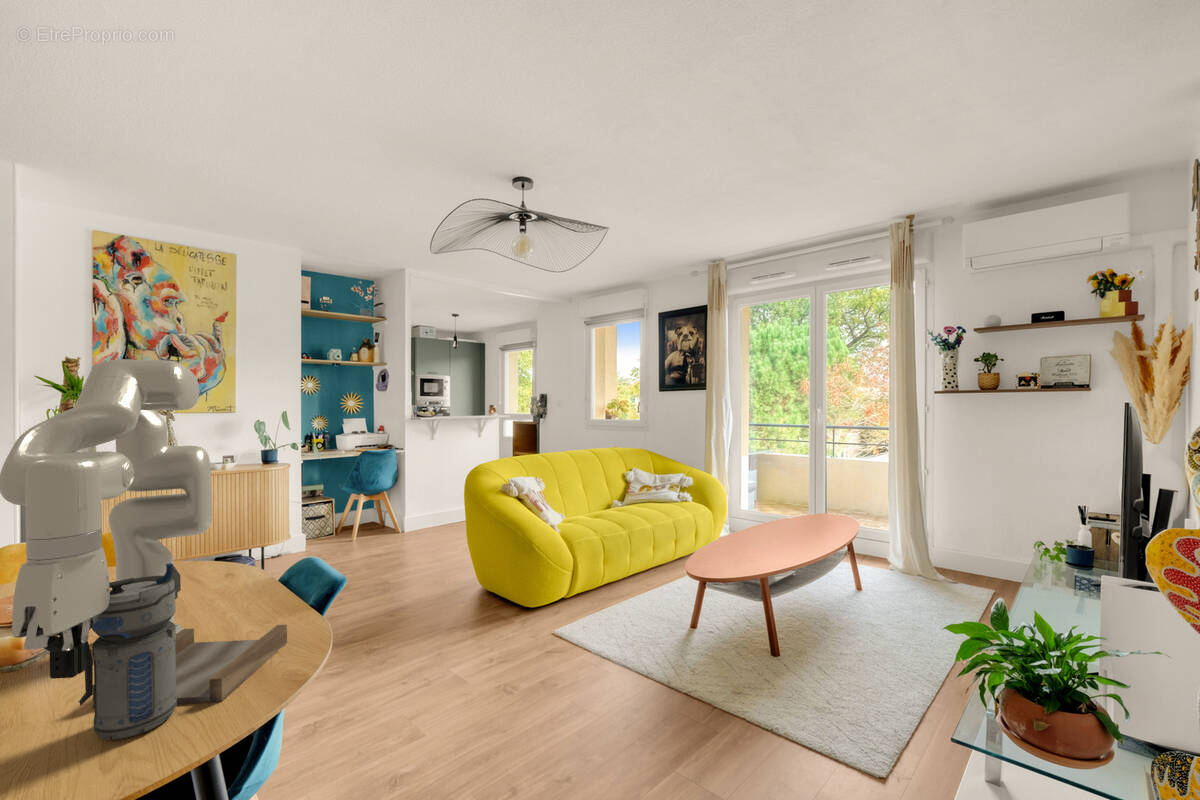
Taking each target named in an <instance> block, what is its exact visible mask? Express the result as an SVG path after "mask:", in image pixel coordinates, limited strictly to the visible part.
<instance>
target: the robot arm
mask: <svg viewBox="0 0 1200 800" xmlns="http://www.w3.org/2000/svg"><path fill="white" fill-rule="evenodd" d="M88 374H89V375H88V376H87V378H86V380H85V383H84V384H83V387H82V389H81V391H80V394H79V396H78V398H77V400H76V403H75V405H74V407H72V408H69V409H67V410H64V411H62V412H60V413H57V414H55V415H53V416H51V417H50V418H48V419H46V420H43V421H41V422H40V423H37V424H35V425H34V426H32V427H30V428H29V429H28V430H27V429H26V431H25V432H23V433H22V434H21V435H20V436H19V437H18V438H17V440H16V441H15V442H14V444H13V446H12V448H11V449H10V451H9V453H8V455H7V457H6V458H5V460H4V462H3V464H2V467H1V470H0V494H1V497H2V498H3V499H4V500H5V501H6V502H8V503H10V504H13V505H17V506H24V507H25V549H26V550H25V553H26V554H25V555H26V556H25V557H26V562H25V563H22V564H21V565H20V567H19V571H18V574H17V578H16V581H15V588H14V592H13V593H14V595H13V599H12V600H13V601H12V602H13V603H12V616H11V619H12V620H11V622H12V623H11V629H12V636H13V638H25V639H24V645H23V649H24V650H26V651H27V650H28V651H29V650H39V649H43V650H44V652H46V653H49V677H50V679H54V680H55V679H72V678H74V677H76V676H77V675H79V674H81V673H83V672H85V660H84V644H83V643H85V642H87V640H88V641H89V637H90V630H92V628H91V627H92V626H93V624H94V623H96V622H97V621H98V620H100V619H101V618H102V617H103V616H104V611H105V610H106V609H107V607H108V605H109V598H110V590H111V588H110V586H109V582H110V576H109V568H108V562H107V557H106V553H105V550H104V547H103V525H102V523H103V522H102V521H103V519H102V517H103V515H102V514H103V513H102V511H103V509H102V501H104V500H105V501H106V500H112V499H114V498H117V497H119V496H121V495H123V494H124V493H125V492H134V493H135V492H139V493H140V492H154V491H169V490H183V491H184V492H185V493H177V494H175V493H174V494H160V495H147V496H139V497H137V496H136V497H133V498H132V497H131V498H128V499H124V500H122V501H120V502H118V503H117V504H116V505H115V504H114V505H115V506H113V508H112V509H111V511H110V512H109V517H108V518H109V520H108V521H109V529H110V532H111V537H112V541H113V547H114V554H115V555H114V556H115V581H120V580H125V579H130V578H134V579H135V578H140V577H147V576H164V575H165V573H166V564H169V563H172V564H173V565H174V557H173V554H172V552H171V551H170V550H169V548H168V547H167V546H165V545H164V544H163V542H161V541H160V540H165V539H173V538H180V537H188V536H196V535H200V534H203V533H205V532H207V531H208V530H209V529H210V527H211V524H212V520H213V496H212V493H213V492H212V470H211V461H210V457H209V454H208V451H207V450H206V449H204V448H203V447H201V446H197V445H176V446H175V445H174V446H172V445H169V443H168V425H167V423H166V420H165V419H164V418H163V417H162V416H161V415H160V414H159V413H158V411H187V410H190V409H192V408H193V407H195V405H196V404H197V403H198V400H199V397H200V385H199V381H198V379H197V376H195V374H194V373H193V372H192V371H191V370H190V369H189V368H188V367H187V366H185V365H184V364H182V363H180V362H177V361H174V360H169V359H168V360H166V359H165V360H164V359H163V360H162V359H132V358H131V359H129V358H128V359H124V358H122V359H121V358H118V359H117V358H116V359H108V360H104V361H102V362H100V363H98V364H97V365H95V366H93V368H92V369H91V371H90V372H89V373H88ZM114 440H115V451H88V452H87V451H85V452H84V451H83V452H82V451H81V452H80V451H79V450H84V449H87V448H92V447H95V446H99V445H102V444H105V443H108V442H112V441H114ZM75 451H76V452H75ZM77 451H78V452H77ZM123 586H124V585H123ZM170 622H172V623H174V624H175V625H176V634H177V633H178V632H180V631H181V630H183V629H184V627H183V625H181V624H179V623H175V614H174V615H173V616H172V618H171V619H170Z"/></svg>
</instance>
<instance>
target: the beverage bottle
mask: <svg viewBox="0 0 1200 800" xmlns="http://www.w3.org/2000/svg"><path fill="white" fill-rule="evenodd" d="M123 585H124V586H123ZM109 586H110V598H109V605H108V607H107V609H106V610H105V611H104V616H103V617H102V618H101V619H100V620H98V621H97V622H96V623H94V624H93V626H92V627H91V630H92V631H93V632H94V633H95V634H96V635H98V638H96V640H94V641H93V642H92V645H91V646H92V647H90V645H89V639H88V640H87V642H85V643H83V644H84V660H85V670H84V683H85V684H84V685H85V686H84V687H85V693H84V694H83V696H82V697H81V698H80V700H79V701H78V703H79V706H82V705H84V703H86V701H88V699H90V698H91V697H93V685H94V696H95V708H94V716H93V731H94V733H95V734H96V736H98V737H99V738H100V739H102V740H106V741H107V740H110V741H111V740H120V739H121V740H122V739H126V738H131V737H134V735H135V736H138V735H141V734H143V733H145V732H148V731H150V730H153V729H154V728H157V727H159V726H161V724H163V723H164V722H166V721H167V720H168V719H169V718H171V717H172V715H173V713H174V712H175V710H176V709H177V705H178V704H177V697H176V651H175V639H176V625H175V624H176V623H175V622H174V623H172V622H170V619H171V618H172V616H173V615H174V616H175V613H176V600H177V599H178V593H179V592H180V591H181V589H182V588H181V574H180V572H179V571H178V570H177V567H176V566H175V565H174V563H173V564H172V563H169V564H166V573H165V575H164V576H147V577H140V578H135V579H134V578H130V579H125V580H120V581H116V580H115V581H109ZM91 649H92V652H91Z"/></svg>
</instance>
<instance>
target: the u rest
mask: <svg viewBox="0 0 1200 800" xmlns="http://www.w3.org/2000/svg"><path fill="white" fill-rule="evenodd" d="M287 626H288V624H276V625H275V626H274V627H273V628H272V629H270V630H269V631H268V632H266V633H265V634H264V635H263V636H261V637H260V638H259V639H246V640H243V639H242V640H222V641H221V640H220V641H218V640H217V641H198V642H196V641H195V628H183V630H181V631H180V632H178V633H177V634H176V639H175V651H176V697H177V705H180V704H181V705H182V704H201V703H203V704H204V703H216V702H217V703H219V702H220V703H221V702H223V701H225V700H226V699H227V698H228V697H229V695H231V694H232V693H233V692H234V691H235V690H237V689H238V687H240V686H241V685H242V684H243V683H244V682H245V681H246V680H248V679H249V678H250V677H251V676H253V674H254V673H255V672H257V671H258V670H259V669H260V668H261V667H262V666H263V665H264V664H265V663H266V661H267V660H268V659H269V660H270V659H271V658H272V657H273V656H274V655H275V654H277V653H278V652H279V651H280V650H281V649H282V648H283V647H284V646H286V643H288V627H287ZM280 648H281V649H280ZM279 649H280V650H279ZM276 652H277V653H276ZM269 660H268V661H269ZM268 661H267V662H268ZM261 665H262V666H261ZM260 666H261V667H260ZM259 667H260V668H259ZM258 668H259V669H258ZM257 669H258V670H257ZM256 670H257V671H256ZM92 709H95V696H94V684H93V695H92Z"/></svg>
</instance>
